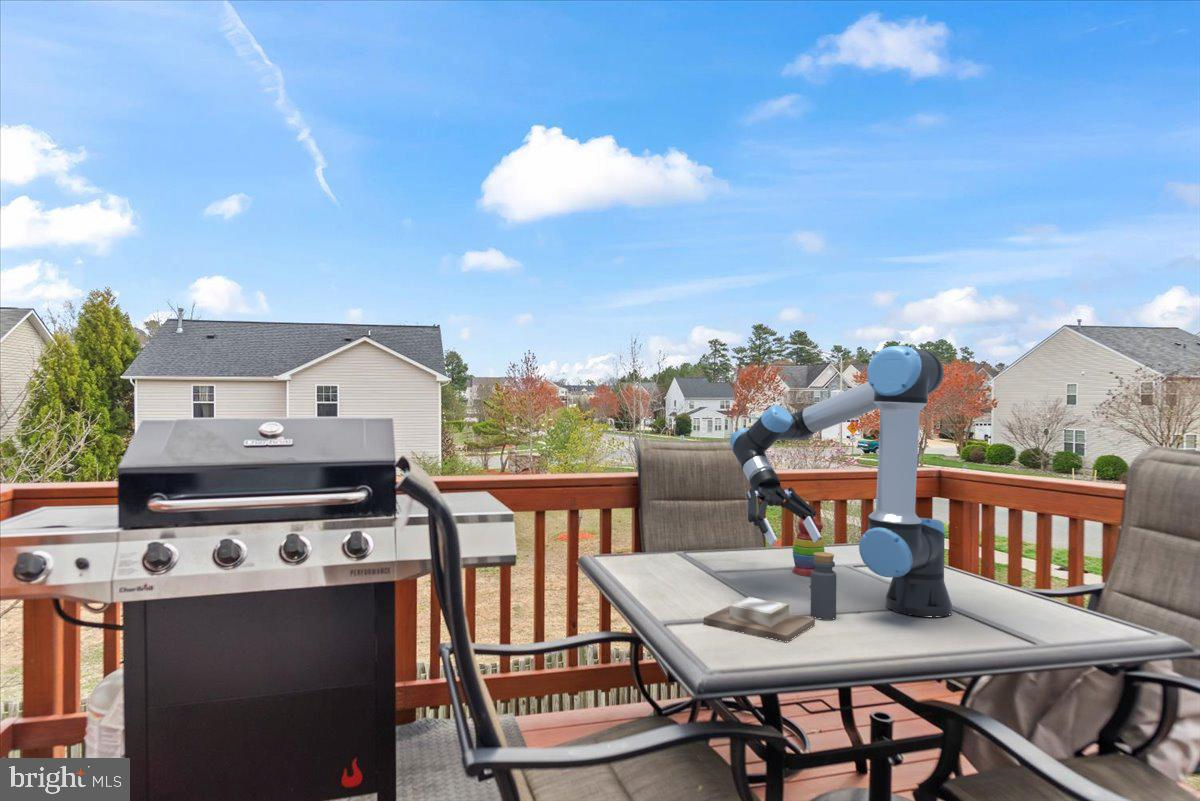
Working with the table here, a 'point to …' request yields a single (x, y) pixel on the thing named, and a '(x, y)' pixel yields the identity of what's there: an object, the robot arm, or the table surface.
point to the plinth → (761, 630)
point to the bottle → (823, 586)
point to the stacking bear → (806, 549)
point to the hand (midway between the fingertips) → (796, 541)
